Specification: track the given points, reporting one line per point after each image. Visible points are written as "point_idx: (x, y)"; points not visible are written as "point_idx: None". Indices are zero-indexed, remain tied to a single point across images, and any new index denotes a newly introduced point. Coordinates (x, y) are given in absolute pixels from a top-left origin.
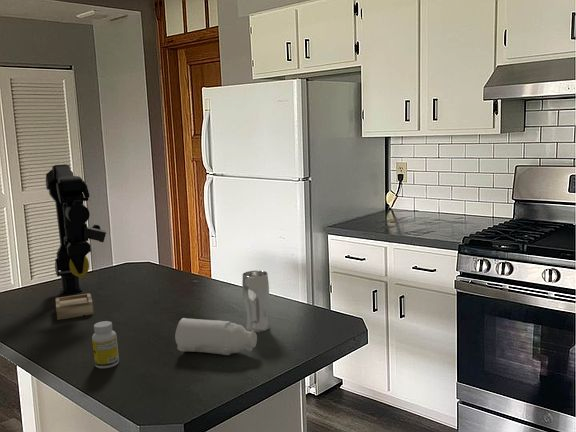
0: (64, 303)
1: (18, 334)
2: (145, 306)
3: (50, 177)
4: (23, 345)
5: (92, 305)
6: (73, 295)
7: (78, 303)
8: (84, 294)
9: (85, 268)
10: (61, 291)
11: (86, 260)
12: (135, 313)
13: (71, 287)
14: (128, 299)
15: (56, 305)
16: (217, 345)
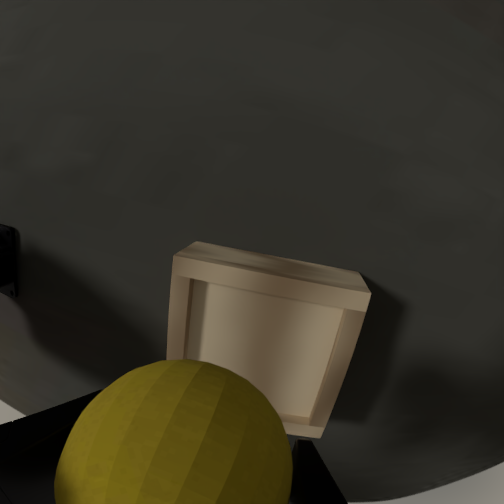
0: None
1: (366, 485)
2: (398, 39)
3: None
4: (454, 472)
5: (365, 287)
6: (167, 338)
7: (343, 359)
8: (182, 289)
9: (281, 434)
10: (2, 292)
11: (236, 490)
12: (468, 115)
13: (3, 270)
14: (227, 61)
15: (295, 433)
16: None
